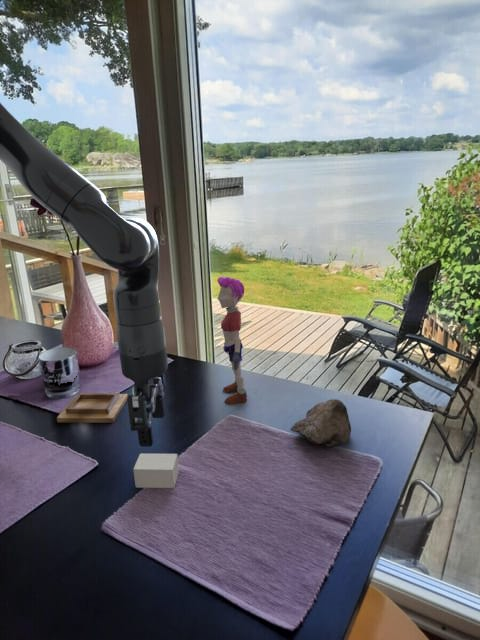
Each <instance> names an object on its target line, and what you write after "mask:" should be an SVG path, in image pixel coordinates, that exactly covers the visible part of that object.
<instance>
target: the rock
mask: <svg viewBox="0 0 480 640" xmlns="http://www.w3.org/2000/svg"><path fill="white" fill-rule="evenodd" d="M290 431H292V432H294V433H296V434H297V433H298V434H299V435H301V436H303V437H305V438H306V440H308V441H309V442H311V443H314V444H317V445H321V444H322V445H323V446H325V447H327V448H331V447H333V446H338V445H347V444H348V443H349V441H350V437H351V433H352V426H351V422H350V418H349V413H348V409H347V406H346V405H345V403H344V402H342V401H341V400H340V399H328V400H326V401H325V402H318V403H316V404H315V405H314V406H312V407H311V408H310V409H308V410H307V412H306V414H305V418H302V419H300V420H298V421H296V422H295V423H294V425H292V426H291V427H290Z"/></svg>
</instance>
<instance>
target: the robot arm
mask: <svg viewBox="0 0 480 640" xmlns="http://www.w3.org/2000/svg"><path fill="white" fill-rule="evenodd" d="M0 161H1V162H2V163H3V164H4V165H5V166H6V167H7V168H8V170H10V172H11V173H12V174H13V175H14V177H15V178H16V180H17V181H18V182H19V183H20V185H21V186H22V187H23V189H24V190H25V191H27V193H28V194H29V195H30V196H31V197H32V198H33V199H34V200H35V202H37V203H39V205H41V206H42V207H44V209H46V210H48V211H49V212H50V213H51V214H52V215H54V217H57V219H58V220H60V221H62V223H64V224H66V225H67V226H68V227H70V228H71V229H72V230H73V231H74V233H75V234H76V235H77V236H78V237H79V239H80V240H81V241H82V242H83V243H84V244H85V246H87V247H88V249H89V250H90V251H91V252H92V253H93V254H94V255H95V256H96V257H97V258H98V259H99V260H100V261H101V262H102V263H105V264H106V265H107V266H109V267H110V268H112V269H115V270H117V282H116V285H115V287H114V289H113V294H112V297H113V299H112V300H113V306H114V313H115V321H116V340H117V347H118V354H119V361H120V367H121V374H122V376H123V377H125V378H126V379H129V380H131V381H132V382H133V385H132V391H131V393H132V394H131V395H130V394H129V395H128V398H127V401H126V402H127V410H128V417H129V418H128V419H129V426H130V431H131V432H135V431H137V438H138V444H139V447H143V448H144V447H146V448H148V447H152V446H153V445H154V435H153V428H152V418H153V419H164V417H165V414H166V413H165V404H164V397H165V392H164V391H166V389H167V384H166V377H165V376H166V375H165V374H166V372H167V370H168V369H169V361H168V351H167V341H166V334H165V333H166V332H165V326H164V323H163V318H162V309H161V302H160V294H159V273H160V246H159V240H158V236H157V234H156V231H155V229H154V228H153V226H152V225H151V224H150V223H149V222H148V221H147V220H145V219H143V218H140V217H128V218H123V217H122V216H121V215H120V214H119V213H117V212H116V211H115V210H114V209H113V208H112V207H110V206H109V205H108V200H107V197H106V195H105V194H104V193H103V192H102V190H100V189H99V187H97V186H96V185H95V184H94V183H92V182H91V181H90V180H88V179H87V178H86V177H85V176H83V175H82V174H81V173H80V172H79V171H77V170H76V169H75V168H73V167H72V166H71V165H70V164H68V163H67V162H66V161H64V160H63V159H62V158H61V157H60V156H58V155H57V154H56V153H55V152H53V150H51V149H49V148H48V146H46V145H45V144H43V142H42V141H41V140H39V139H38V138H37V137H36V136H34V134H32V133H31V132H30V131H29V130H28V129H27V128H26V127H25V126H24V125H23V124H21V122H20V121H18V119H17V118H15V117H14V115H13V114H12V113H10V111H8V109H7V108H6V107H5V106H4V105H3V104H2V103H1V102H0ZM147 406H148V407H147Z"/></svg>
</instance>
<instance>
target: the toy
mask: <svg viewBox="0 0 480 640" xmlns="http://www.w3.org/2000/svg"><path fill="white" fill-rule="evenodd" d="M217 283H218V285H219V286H220V289H219V292H218V296H217V301H219V304H220V307H221V309H225V310H226V314H225V316H224V317H223V319H222V320H221V322H220V328H221V330H222V334H223V338H224V343H223V348H222V350H223V351H224V353H226V354H227V356H229V357H228V358H229V362H230V364H231V370H232V371H233V373H234V382H233V383H231V384H228V385H226V386H224V387H223V389H222V391H223V392H224V393H226V394H229V393H233V392H234V394H232V395H229V396H227V397H226V398H225V400H224V402H225V404H227V405H228V404H229V405H235V404H240V403H246V402H247V401H248V399H247V398H248V395H247V390H246V387H245V383H244V381H245V380H244V376H243V375H242V368H241V362H242V361H243V355H242V351H243V348H244V345H243V343H242V339H241V338H240V331H241V328H242V313H241V311H240V310H239V308H240V307H239V306H237V305H238V304H239V303H240V302H241V300H242V298H243V297H244V295H245V286H244V284H243V282H242V281H241V280H240V279H237V278H234V277H233V278H232V277H230V276H219V277H218V278H217ZM235 392H236V393H235Z"/></svg>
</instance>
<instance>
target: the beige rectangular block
mask: <svg viewBox="0 0 480 640" xmlns="http://www.w3.org/2000/svg"><path fill="white" fill-rule="evenodd" d="M178 456H179V455H178V453H139V456H138V457H137V460H136V461H135V465H134V466H133V478H134V484H135V488H138V489H175V488H176V484H177V482H178V477H179V473H180V466H179V457H178Z"/></svg>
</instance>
